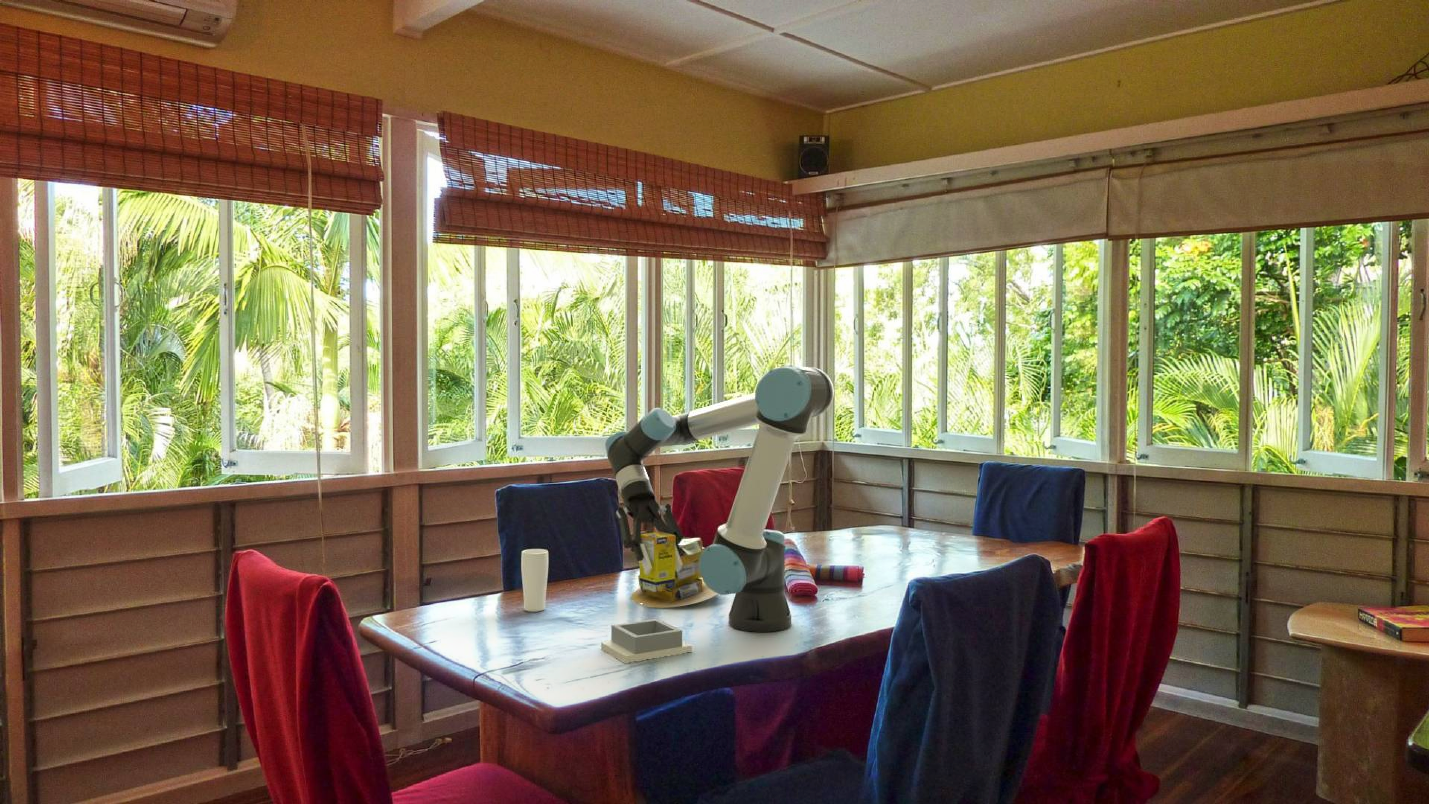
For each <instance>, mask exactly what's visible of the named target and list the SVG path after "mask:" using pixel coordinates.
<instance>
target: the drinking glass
mask: <svg viewBox="0 0 1429 804" xmlns="http://www.w3.org/2000/svg"><path fill="white" fill-rule="evenodd" d="M520 560H521V562H520V566H521V567H520V568H521V581H522V590H523V591H522V592H523V593H522V594H523V609H524V611H525V612H530V613H532V612H533V613H537V612H542V611H544V610H545V608H546V599H547V598H546V597H547V585H548V575H549V551H548V550H547V549H543V548H530V549H524V550H522V551H521V557H520Z"/></svg>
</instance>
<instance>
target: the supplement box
mask: <svg viewBox="0 0 1429 804" xmlns="http://www.w3.org/2000/svg"><path fill="white" fill-rule="evenodd" d="M641 544H644V546H645V549H646V551H647V554H648V557H649V560H650V563H651V566H652V569H651V571H650V573H649V574H648V575H645V572H644V569H643V566H642V563H641V561H640V567H639V575H640V581H642V582H646V583H649V584H653V585H655V586H656V585H661V584H667V583H672V582H675V544H676V535H672V534H667V533H663V532H659V531H655V532H647V533H646V532H645V533H641V536H640V545H641Z"/></svg>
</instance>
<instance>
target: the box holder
mask: <svg viewBox="0 0 1429 804" xmlns="http://www.w3.org/2000/svg"><path fill="white" fill-rule="evenodd" d="M610 632H611V633H610V636H611V638H610V639H611V640H607V641H601V643H600V644H601V645H600V649H601V651H603V652H605V653H607V654H609V655H610V656H612V657H614V658H616V659H617V660H619V661H620V662H622V661H623V663H624V664H630V663H629V662H631V663H634V662H633V661H637V662H642V661H641V660H643V661H647V660H646V659H649V660H651V659H650V658H655V659H660V657H661V658H665V657H664V656H667V657H669V656H668V655H673V656H678V655H677V654H679V655H683V654H682V653H685V654H687V653H686V652H691V653H693V645H692V644H690V643H688V642H686V641H684V640H683V630H682V629H680V628H678V627H675V626H674V625H672V624H669V623H667V622H665V621H663V620H661V619H659V618H654V619H653V618H652V619H647V620H646V619H645V620H639V621H632V622H627V623H625V622H624V623H619V624H618V623H617V624H613V625H612V624H611V631H610Z"/></svg>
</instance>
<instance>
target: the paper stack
mask: <svg viewBox="0 0 1429 804" xmlns="http://www.w3.org/2000/svg"><path fill="white" fill-rule="evenodd" d="M678 545H679V547H680V550H681V554H680V559H681V561H682V564H683V565H682V567H681V569H680V570H679V571H678V572H676V571H675V582H672V583H667V584H661V585H656V586H655V585H653V584H649V583H646V582H642V581H640V574H639V575H637V579H638V586H639V588H637V589H636V590H635V591H634V592H632V594H631V595H630V600H634V602H633V603H635V604H638V603H643V604H642V605H641V607H642V606H643V607H646V606H650V607H649V608H659V609H660V608H661V609H662V608H663V609H664V608H675V607H684V606H689V605H693V604H697V603H701V602H704V601H706V600H709V599H712V598H714V597H716V595H719V594H718V593H716V592H714V591H712V590H711V589H709V588H708V587H707V586H706V584H705V583H704V581H703V579H702V576H701V575H700V572H699V558H700V555H701V553H702V552H703V551H704V550H705V549H706V547H703V540H702V539H701V537H692V538H691V537H685V536H684V537H683V539H682V540H681V542H680V544H678ZM638 566H639V568H640V561H638Z"/></svg>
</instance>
